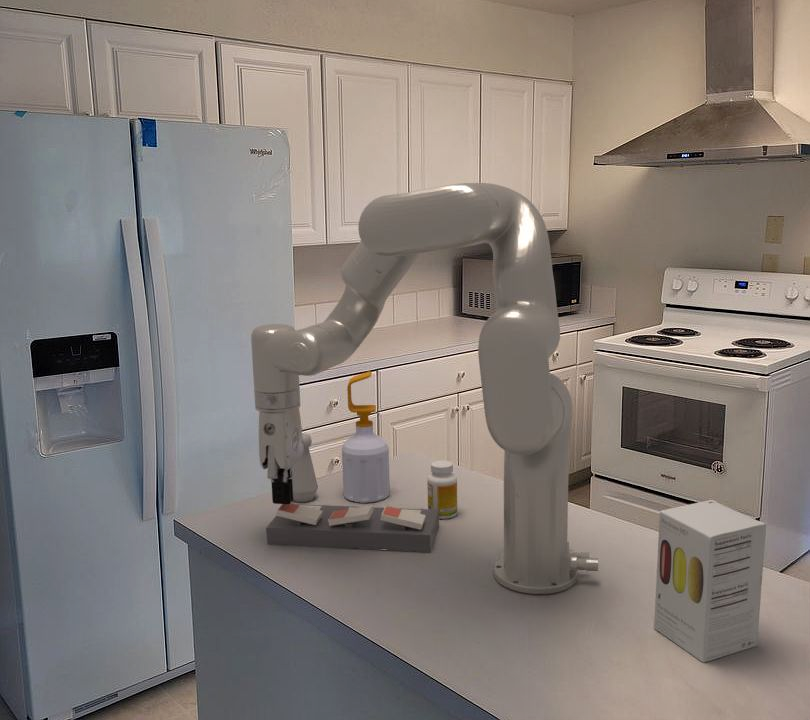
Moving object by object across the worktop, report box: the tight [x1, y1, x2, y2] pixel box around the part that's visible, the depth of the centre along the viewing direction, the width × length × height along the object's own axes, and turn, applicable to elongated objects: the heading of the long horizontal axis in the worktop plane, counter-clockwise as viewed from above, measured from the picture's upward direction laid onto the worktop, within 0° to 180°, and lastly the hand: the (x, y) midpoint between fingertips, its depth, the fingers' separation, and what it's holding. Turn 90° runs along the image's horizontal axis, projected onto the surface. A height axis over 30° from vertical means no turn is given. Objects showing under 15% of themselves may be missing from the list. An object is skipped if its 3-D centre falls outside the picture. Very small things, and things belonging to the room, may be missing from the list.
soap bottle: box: [341, 370, 391, 504], centre depth 157 cm, size 9×9×25 cm
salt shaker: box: [289, 432, 319, 503], centre depth 157 cm, size 6×6×13 cm
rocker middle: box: [328, 504, 374, 526], centre depth 138 cm, size 7×4×1 cm, turn 80°
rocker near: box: [380, 505, 426, 530], centre depth 136 cm, size 7×4×1 cm, turn 81°
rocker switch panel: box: [265, 503, 440, 553], centre depth 140 cm, size 28×11×4 cm, turn 80°
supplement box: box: [653, 499, 767, 663], centre depth 104 cm, size 10×9×17 cm
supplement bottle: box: [427, 460, 458, 520], centre depth 148 cm, size 5×5×10 cm
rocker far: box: [275, 502, 323, 525], centre depth 139 cm, size 7×4×1 cm, turn 81°
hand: (283, 502), depth 139 cm, fingers closed
